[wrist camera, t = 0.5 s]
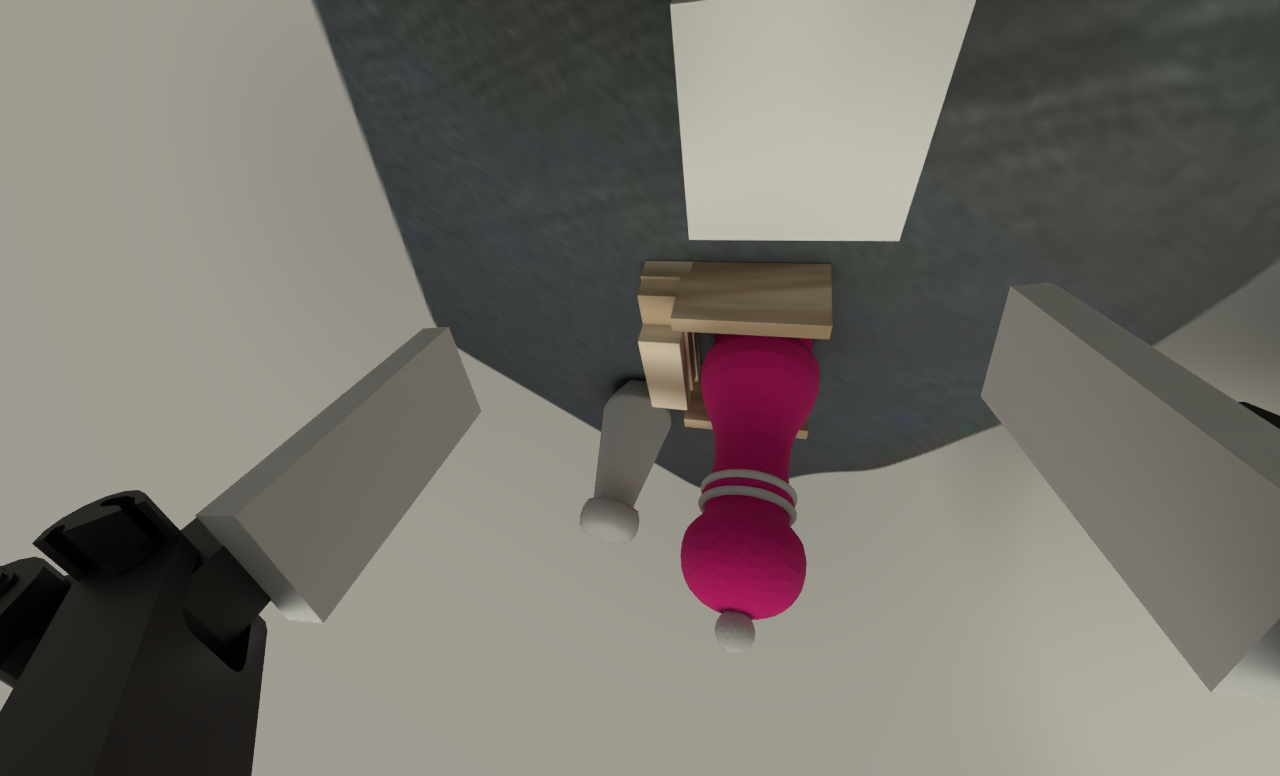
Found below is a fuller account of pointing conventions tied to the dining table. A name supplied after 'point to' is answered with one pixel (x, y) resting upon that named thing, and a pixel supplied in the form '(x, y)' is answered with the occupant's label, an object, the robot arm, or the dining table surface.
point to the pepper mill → (750, 483)
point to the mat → (809, 112)
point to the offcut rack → (721, 319)
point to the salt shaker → (624, 462)
